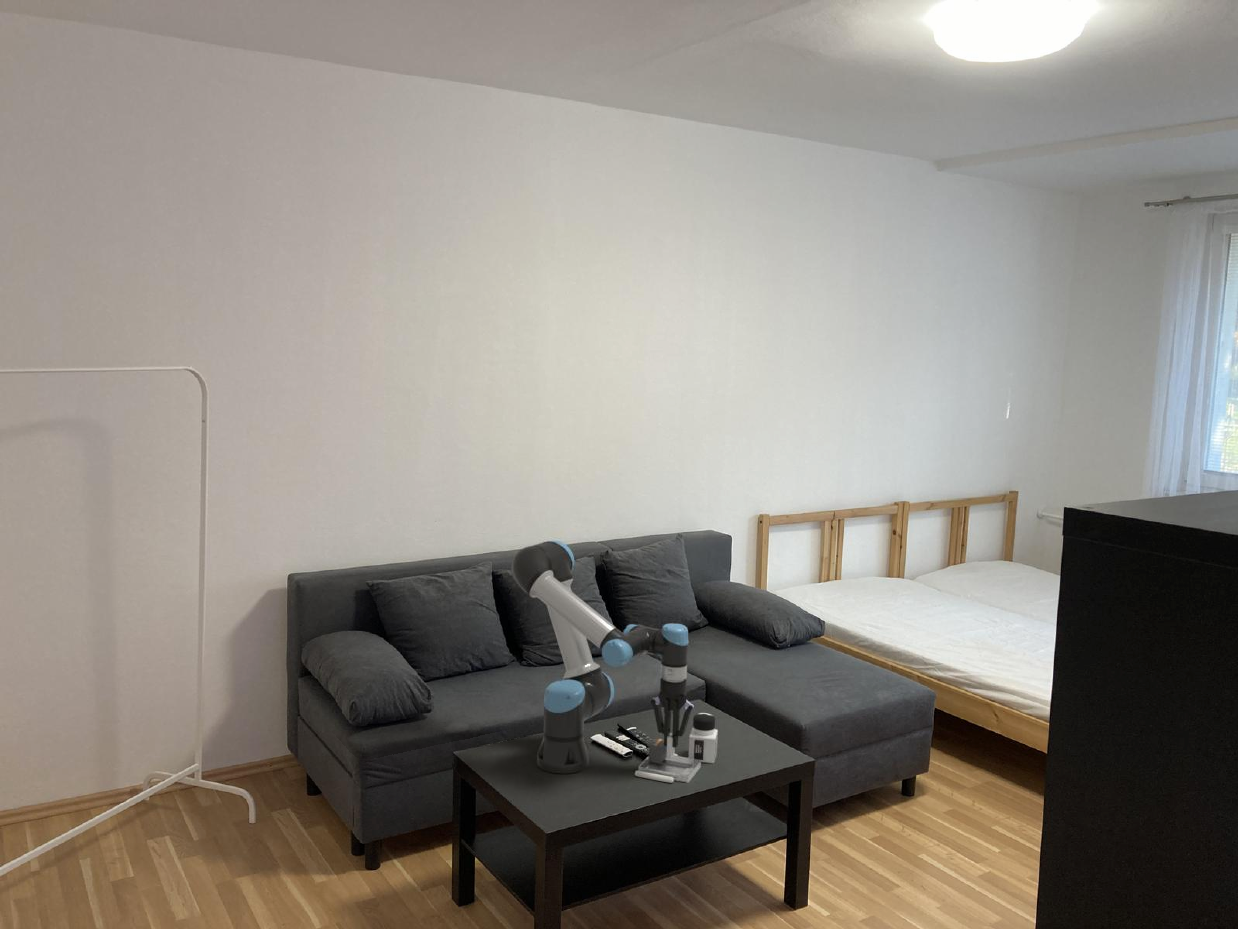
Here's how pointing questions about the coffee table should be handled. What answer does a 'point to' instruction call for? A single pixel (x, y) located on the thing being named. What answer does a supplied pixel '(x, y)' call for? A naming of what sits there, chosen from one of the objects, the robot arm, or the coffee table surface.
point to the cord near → (654, 776)
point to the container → (703, 738)
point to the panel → (673, 768)
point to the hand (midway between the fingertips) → (670, 757)
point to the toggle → (657, 751)
